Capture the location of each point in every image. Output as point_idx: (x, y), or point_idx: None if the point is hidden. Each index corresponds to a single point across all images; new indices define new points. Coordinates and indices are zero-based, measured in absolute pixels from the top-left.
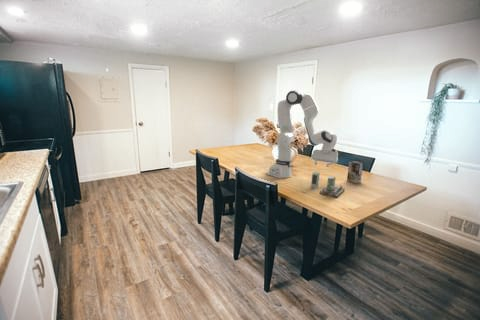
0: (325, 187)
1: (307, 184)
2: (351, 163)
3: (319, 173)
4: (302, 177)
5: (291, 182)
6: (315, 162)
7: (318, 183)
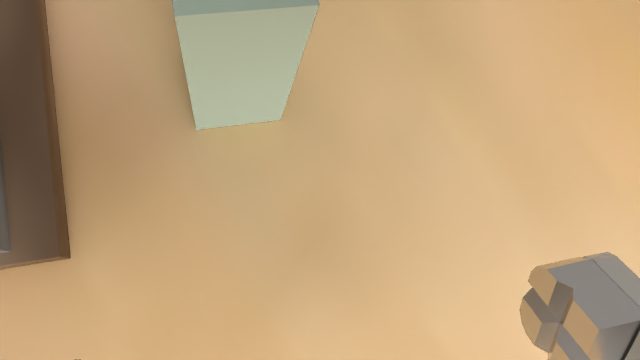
0: (40, 94)
1: (366, 102)
2: None
3: (175, 18)
4: None
5: (556, 12)
6: (626, 289)
7: (192, 109)
